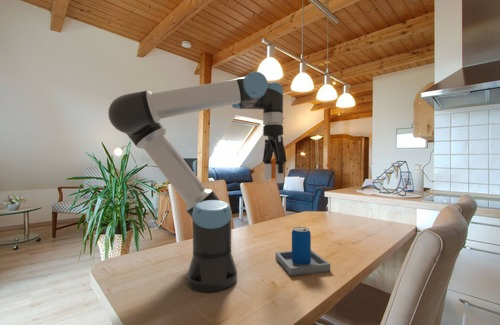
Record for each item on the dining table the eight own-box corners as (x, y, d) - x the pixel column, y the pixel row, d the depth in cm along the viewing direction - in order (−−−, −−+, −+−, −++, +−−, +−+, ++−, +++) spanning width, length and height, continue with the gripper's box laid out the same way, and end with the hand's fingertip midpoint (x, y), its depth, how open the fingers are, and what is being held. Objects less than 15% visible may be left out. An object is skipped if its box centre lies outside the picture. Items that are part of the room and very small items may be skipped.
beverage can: (311, 267, 80) (311, 232, 80) (291, 266, 81) (291, 231, 81) (310, 260, 86) (310, 226, 86) (292, 258, 87) (291, 226, 87)
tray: (290, 276, 75) (290, 268, 75) (275, 259, 89) (275, 252, 89) (330, 271, 78) (330, 263, 78) (310, 255, 92) (310, 248, 92)
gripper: (296, 119, 79) (296, 183, 79) (272, 129, 104) (272, 178, 104) (274, 119, 78) (274, 184, 78) (255, 129, 102) (255, 179, 102)
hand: (273, 181), depth 91 cm, fingers open, 13 cm apart
